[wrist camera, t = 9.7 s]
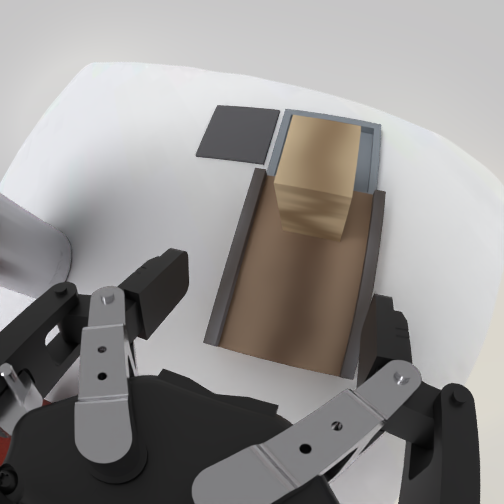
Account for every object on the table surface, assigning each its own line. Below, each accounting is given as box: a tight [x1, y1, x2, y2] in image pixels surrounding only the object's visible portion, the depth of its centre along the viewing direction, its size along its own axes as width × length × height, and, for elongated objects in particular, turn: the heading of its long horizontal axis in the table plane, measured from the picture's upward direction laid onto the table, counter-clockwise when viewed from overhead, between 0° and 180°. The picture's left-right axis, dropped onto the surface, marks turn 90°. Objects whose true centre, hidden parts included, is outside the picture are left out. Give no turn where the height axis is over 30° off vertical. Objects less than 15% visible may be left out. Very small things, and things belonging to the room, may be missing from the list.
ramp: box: [203, 168, 386, 380], centre depth 27 cm, size 12×16×4 cm
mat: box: [196, 105, 280, 165], centre depth 35 cm, size 8×8×1 cm
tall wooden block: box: [274, 115, 361, 242], centre depth 24 cm, size 5×6×8 cm
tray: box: [267, 109, 381, 195], centre depth 32 cm, size 11×10×2 cm
